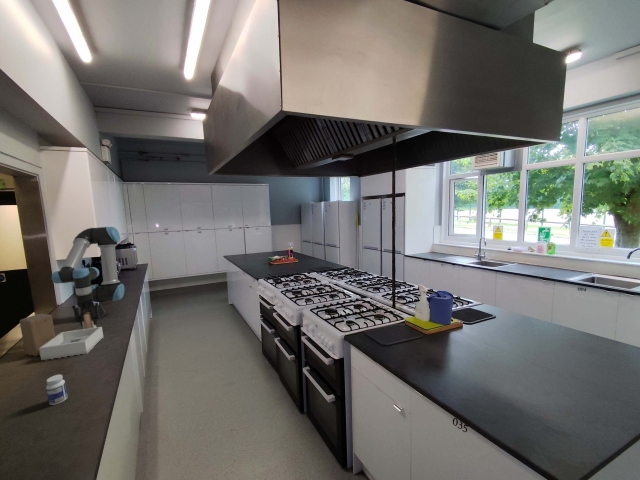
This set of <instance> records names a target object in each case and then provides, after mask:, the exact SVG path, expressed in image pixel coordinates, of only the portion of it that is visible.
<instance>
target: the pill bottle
mask: <svg viewBox="0 0 640 480" xmlns="http://www.w3.org/2000/svg"><path fill="white" fill-rule="evenodd" d="M63 378H64V377H63V374H55V375H52V376H50V377H48V378H47V379H46V384H47V385H46V387H45V390H46V395H47V400H48V404H49V405H50V406H55V405H58V404H61V403H64V402H65V400H67V399H68V390H67V384H66V381H65V379H63Z"/></svg>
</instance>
